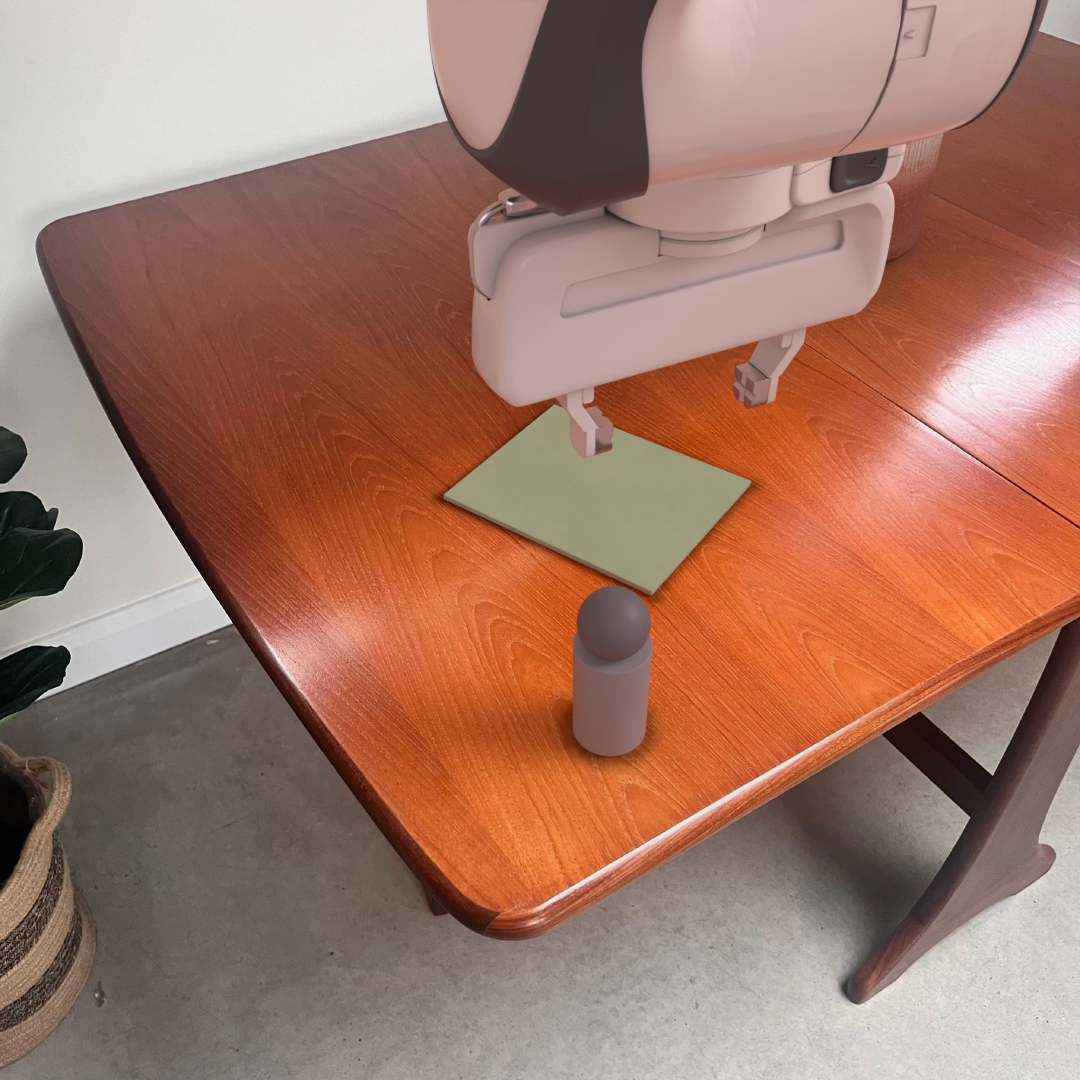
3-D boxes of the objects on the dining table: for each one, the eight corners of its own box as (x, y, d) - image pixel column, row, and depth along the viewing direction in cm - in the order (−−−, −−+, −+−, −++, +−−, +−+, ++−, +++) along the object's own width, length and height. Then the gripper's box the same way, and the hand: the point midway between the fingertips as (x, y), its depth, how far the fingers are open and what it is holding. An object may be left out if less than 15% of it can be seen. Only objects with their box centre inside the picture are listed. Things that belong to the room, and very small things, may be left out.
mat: (750, 485, 87) (751, 480, 86) (651, 596, 77) (651, 591, 77) (554, 408, 96) (554, 403, 95) (443, 499, 86) (442, 494, 86)
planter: (737, 186, 132) (757, 15, 119) (918, 203, 127) (960, 27, 114) (711, 265, 116) (730, 78, 103) (917, 288, 111) (964, 95, 98)
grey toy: (659, 719, 69) (671, 589, 61) (620, 769, 66) (628, 639, 58) (598, 687, 71) (602, 557, 63) (558, 734, 68) (557, 604, 60)
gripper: (497, 230, 38) (510, 519, 47) (939, 133, 44) (875, 405, 53) (435, 169, 42) (459, 444, 51) (846, 89, 49) (802, 347, 58)
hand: (674, 423), depth 52 cm, fingers open, 8 cm apart
